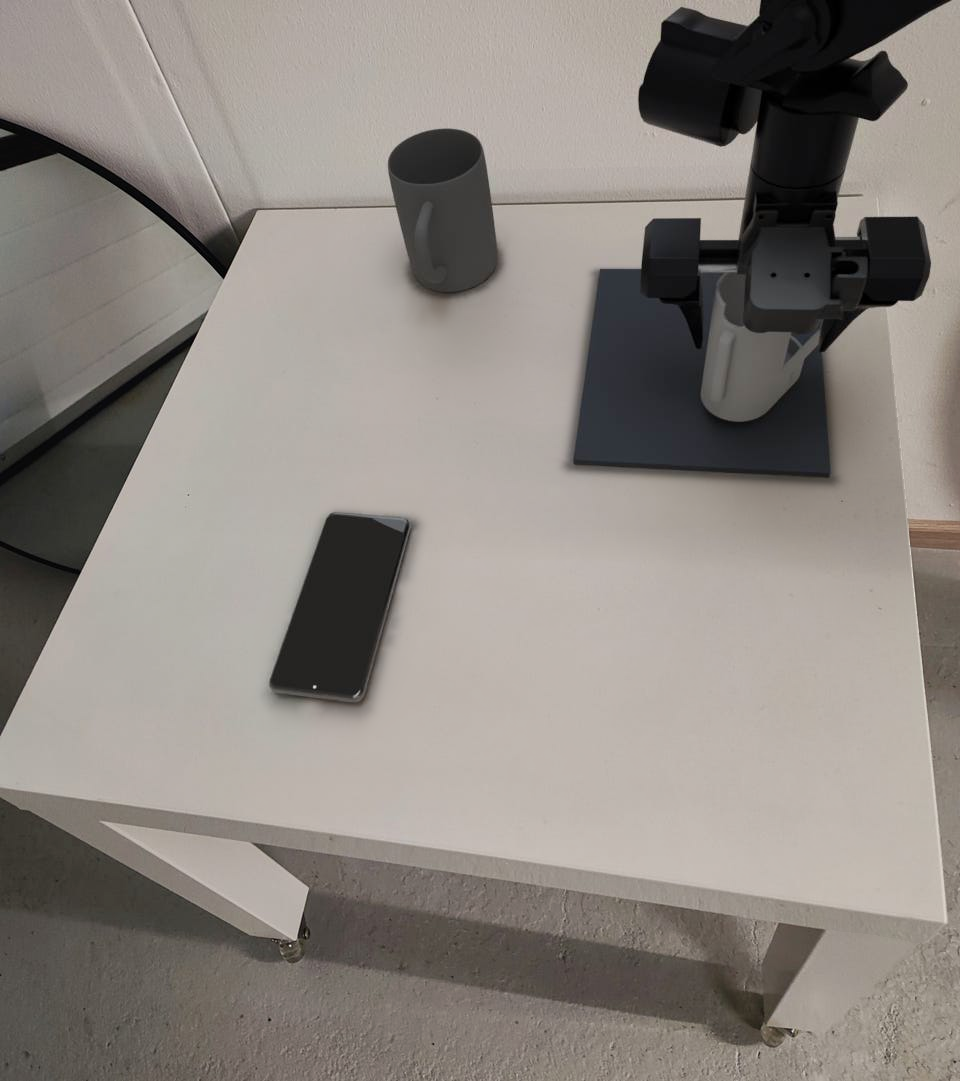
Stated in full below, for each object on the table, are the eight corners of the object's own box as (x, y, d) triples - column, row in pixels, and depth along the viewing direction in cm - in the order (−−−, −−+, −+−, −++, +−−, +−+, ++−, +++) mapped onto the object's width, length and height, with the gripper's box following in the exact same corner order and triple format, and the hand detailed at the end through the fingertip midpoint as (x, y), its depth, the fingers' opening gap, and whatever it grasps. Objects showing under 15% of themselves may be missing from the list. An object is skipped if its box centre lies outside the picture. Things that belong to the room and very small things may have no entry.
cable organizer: (824, 359, 69) (861, 239, 59) (740, 448, 65) (764, 335, 55) (756, 327, 72) (780, 208, 62) (671, 411, 68) (683, 298, 58)
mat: (814, 274, 76) (815, 269, 75) (829, 477, 63) (830, 472, 63) (599, 273, 80) (599, 268, 79) (573, 464, 67) (573, 459, 67)
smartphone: (411, 516, 65) (360, 700, 56) (414, 524, 66) (364, 706, 57) (326, 510, 67) (264, 688, 58) (330, 517, 68) (269, 694, 59)
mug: (422, 236, 87) (398, 128, 77) (505, 236, 85) (492, 125, 75) (392, 324, 80) (361, 218, 70) (482, 326, 78) (464, 217, 68)
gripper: (638, 244, 48) (631, 419, 61) (981, 244, 45) (897, 430, 58) (649, 138, 54) (641, 317, 67) (953, 129, 50) (882, 322, 63)
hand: (759, 346), depth 64 cm, fingers open, 9 cm apart
